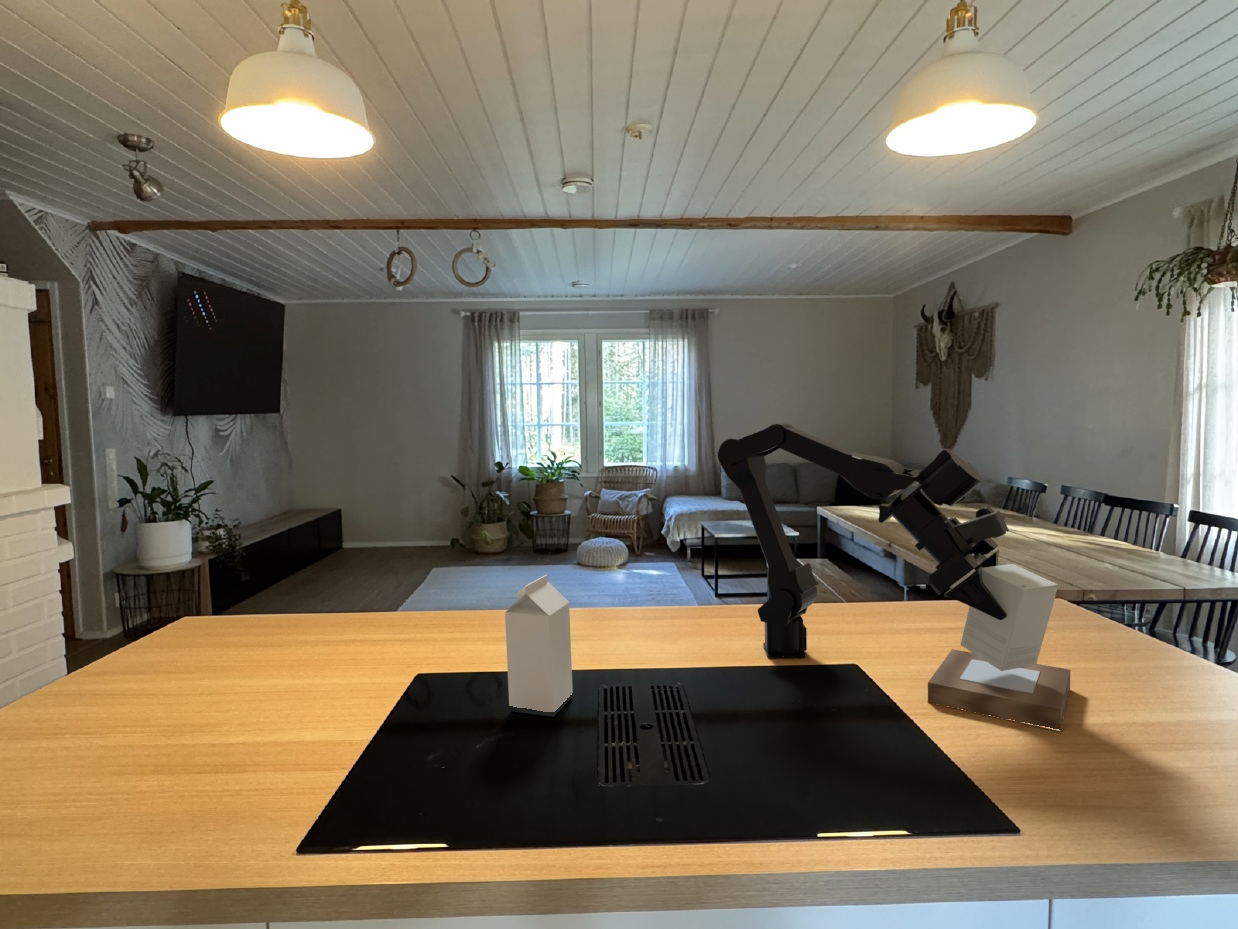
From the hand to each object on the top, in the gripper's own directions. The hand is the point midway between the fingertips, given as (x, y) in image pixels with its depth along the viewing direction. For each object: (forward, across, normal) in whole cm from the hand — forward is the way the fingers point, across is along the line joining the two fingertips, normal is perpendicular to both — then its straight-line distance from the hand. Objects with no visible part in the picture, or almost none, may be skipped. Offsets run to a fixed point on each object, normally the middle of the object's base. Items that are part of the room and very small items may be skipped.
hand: (1009, 609), depth 96 cm
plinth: (+9, +1, +10) cm, 13 cm away
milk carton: (-28, -40, +48) cm, 69 cm away
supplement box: (+4, 0, +6) cm, 7 cm away
